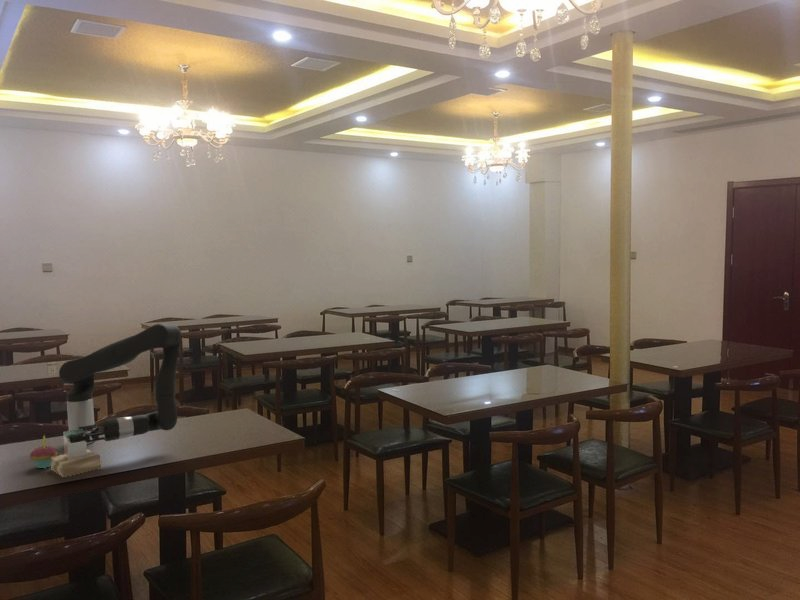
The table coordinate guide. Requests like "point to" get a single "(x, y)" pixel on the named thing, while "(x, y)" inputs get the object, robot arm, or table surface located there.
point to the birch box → (75, 464)
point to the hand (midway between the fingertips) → (67, 437)
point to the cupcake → (43, 455)
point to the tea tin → (74, 445)
